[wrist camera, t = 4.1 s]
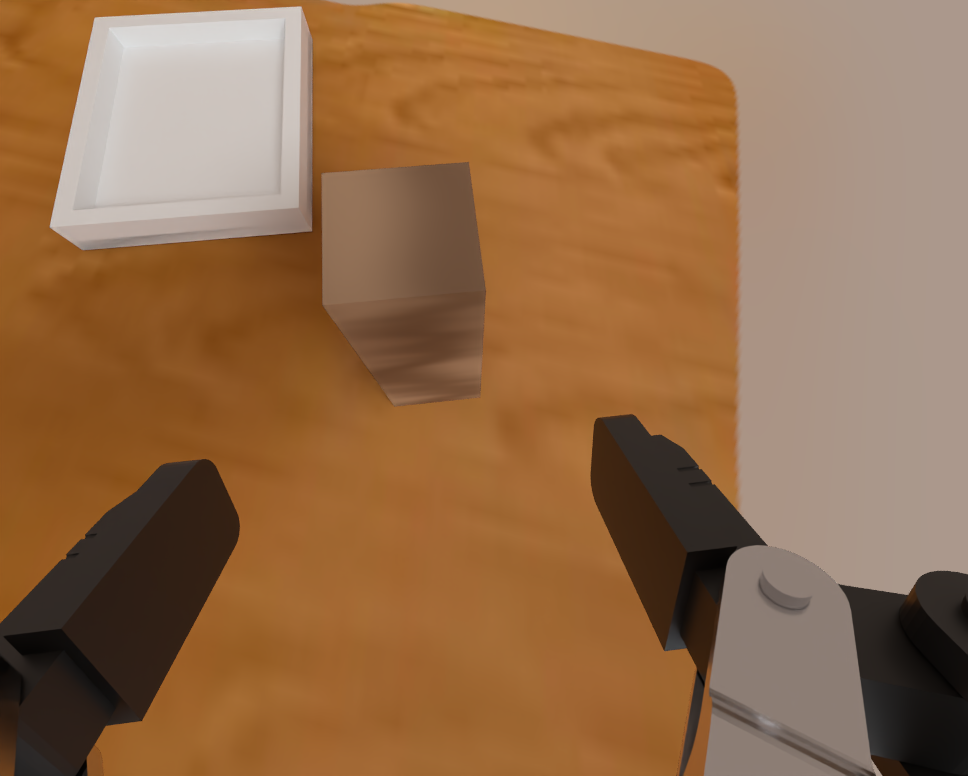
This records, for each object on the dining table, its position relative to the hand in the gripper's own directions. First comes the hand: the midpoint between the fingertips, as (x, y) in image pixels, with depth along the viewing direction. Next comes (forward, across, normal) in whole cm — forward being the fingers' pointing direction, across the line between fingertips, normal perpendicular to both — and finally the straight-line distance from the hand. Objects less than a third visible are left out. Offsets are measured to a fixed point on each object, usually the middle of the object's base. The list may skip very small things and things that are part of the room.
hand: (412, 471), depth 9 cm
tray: (+26, +13, -8) cm, 30 cm away
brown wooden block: (+14, 0, +4) cm, 14 cm away
